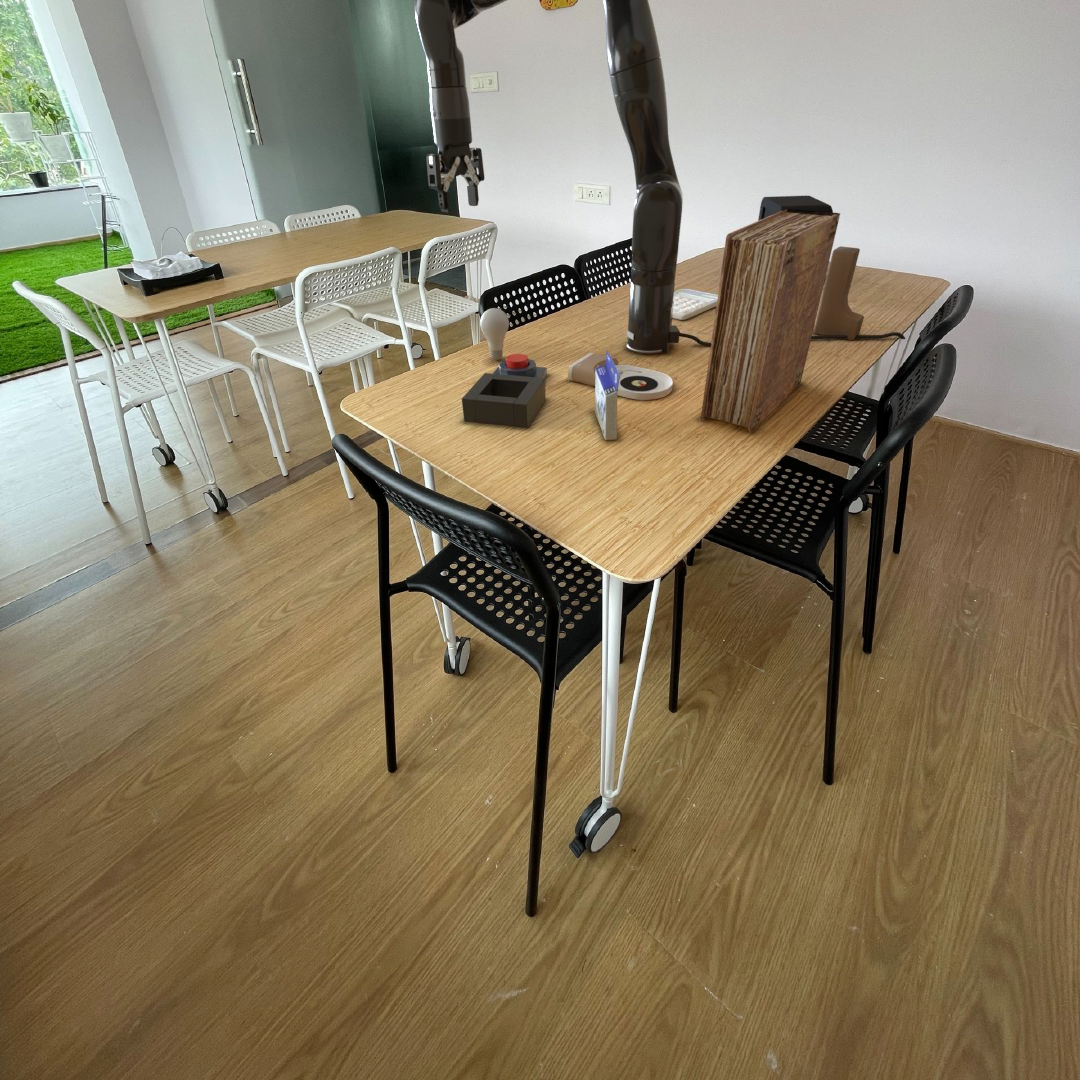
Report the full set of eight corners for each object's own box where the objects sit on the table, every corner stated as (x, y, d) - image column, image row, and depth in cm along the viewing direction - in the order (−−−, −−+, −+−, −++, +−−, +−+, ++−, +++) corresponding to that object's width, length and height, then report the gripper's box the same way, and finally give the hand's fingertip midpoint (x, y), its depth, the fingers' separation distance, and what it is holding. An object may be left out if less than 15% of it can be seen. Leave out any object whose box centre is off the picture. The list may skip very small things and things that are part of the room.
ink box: (593, 412, 113) (594, 350, 106) (605, 411, 113) (608, 349, 106) (603, 441, 104) (606, 376, 97) (617, 440, 104) (620, 375, 97)
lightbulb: (507, 366, 132) (504, 313, 126) (479, 364, 133) (475, 312, 127) (513, 355, 137) (511, 304, 131) (487, 354, 138) (483, 304, 132)
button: (531, 362, 125) (530, 354, 124) (524, 371, 122) (524, 362, 121) (510, 361, 126) (509, 352, 125) (503, 369, 123) (503, 360, 122)
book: (749, 433, 105) (787, 241, 87) (699, 420, 109) (725, 234, 91) (800, 383, 121) (841, 212, 103) (755, 373, 125) (786, 208, 107)
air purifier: (820, 285, 174) (838, 205, 162) (768, 286, 175) (783, 207, 163) (797, 267, 191) (812, 194, 179) (749, 268, 191) (762, 195, 179)
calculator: (639, 311, 160) (640, 303, 159) (683, 293, 171) (684, 286, 170) (683, 321, 153) (684, 313, 152) (725, 302, 164) (727, 295, 163)
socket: (545, 400, 118) (545, 377, 115) (527, 428, 109) (526, 404, 106) (486, 395, 121) (484, 372, 118) (464, 421, 111) (461, 398, 109)
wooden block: (859, 335, 141) (883, 250, 131) (853, 341, 139) (877, 254, 128) (819, 328, 146) (839, 245, 135) (812, 333, 143) (832, 249, 132)
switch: (547, 375, 128) (546, 358, 126) (536, 390, 122) (535, 373, 119) (501, 371, 130) (500, 355, 128) (488, 386, 124) (487, 369, 122)
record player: (594, 350, 130) (683, 369, 121) (594, 364, 132) (681, 384, 122) (565, 368, 122) (657, 390, 113) (564, 383, 124) (655, 406, 115)
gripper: (439, 118, 114) (449, 215, 124) (489, 113, 123) (495, 204, 133) (410, 118, 118) (423, 213, 128) (461, 113, 127) (469, 202, 137)
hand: (460, 208), depth 130 cm, fingers open, 8 cm apart
